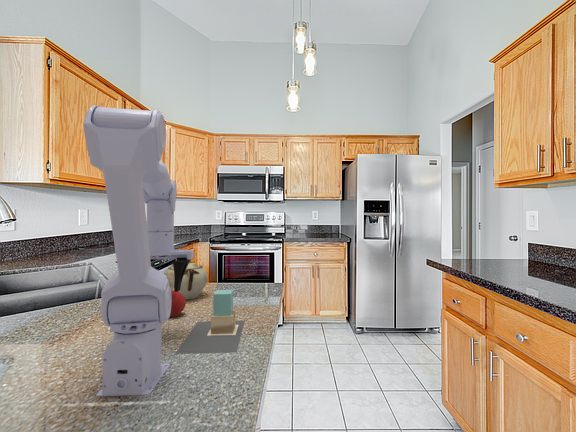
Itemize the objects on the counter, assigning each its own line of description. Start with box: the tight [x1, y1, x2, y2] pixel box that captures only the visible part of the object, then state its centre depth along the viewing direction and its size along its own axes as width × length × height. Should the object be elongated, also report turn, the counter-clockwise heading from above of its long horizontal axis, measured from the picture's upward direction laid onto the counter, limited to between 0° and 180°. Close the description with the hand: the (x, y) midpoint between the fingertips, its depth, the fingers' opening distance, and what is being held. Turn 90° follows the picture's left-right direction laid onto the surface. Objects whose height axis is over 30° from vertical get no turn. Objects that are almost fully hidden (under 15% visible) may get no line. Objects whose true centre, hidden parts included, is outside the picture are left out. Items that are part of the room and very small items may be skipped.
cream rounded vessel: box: [163, 260, 209, 300], centre depth 102 cm, size 20×15×15 cm
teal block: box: [212, 289, 234, 316], centre depth 71 cm, size 4×4×5 cm
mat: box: [174, 320, 246, 355], centre depth 68 cm, size 18×12×1 cm, turn 3°
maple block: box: [210, 309, 236, 334], centre depth 71 cm, size 5×5×4 cm
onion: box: [170, 288, 187, 318], centre depth 81 cm, size 6×6×8 cm
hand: (160, 291), depth 68 cm, fingers open, 7 cm apart
